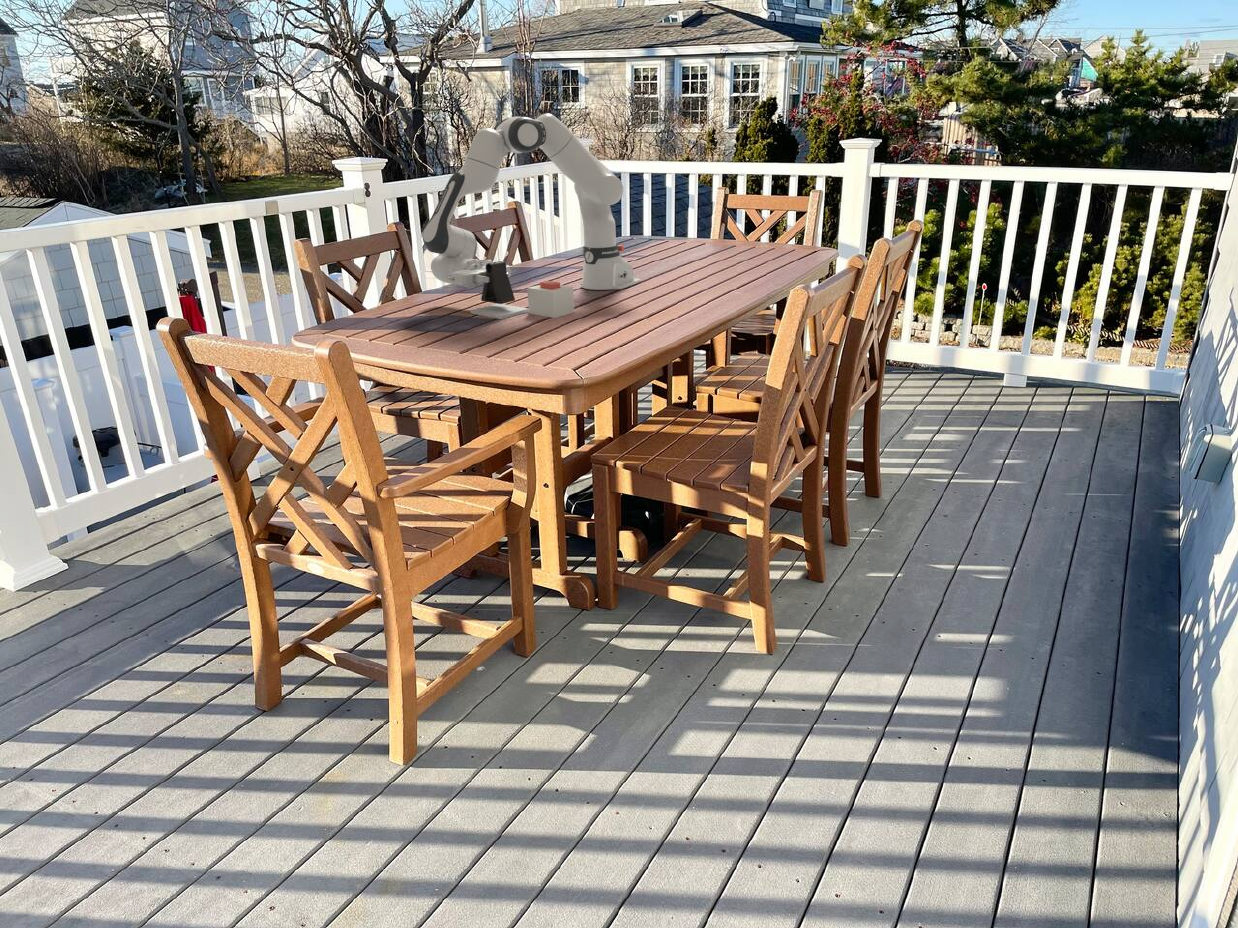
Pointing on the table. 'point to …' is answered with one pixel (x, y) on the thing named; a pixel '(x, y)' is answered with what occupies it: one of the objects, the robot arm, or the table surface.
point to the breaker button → (550, 285)
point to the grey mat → (499, 311)
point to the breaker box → (551, 301)
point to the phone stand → (497, 284)
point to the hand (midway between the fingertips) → (498, 277)
